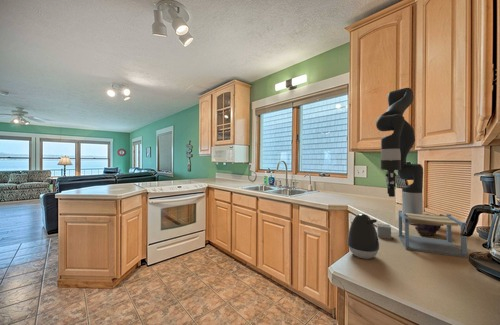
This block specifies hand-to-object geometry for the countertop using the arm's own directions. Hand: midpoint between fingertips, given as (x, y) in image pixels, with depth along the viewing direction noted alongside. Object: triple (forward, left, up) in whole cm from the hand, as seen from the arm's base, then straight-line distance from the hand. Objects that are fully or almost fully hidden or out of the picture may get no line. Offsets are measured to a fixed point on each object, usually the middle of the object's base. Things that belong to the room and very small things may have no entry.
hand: (391, 195), depth 96 cm
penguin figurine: (+26, -12, -19) cm, 35 cm away
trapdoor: (+4, +12, -12) cm, 17 cm away
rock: (-15, +16, -20) cm, 29 cm away
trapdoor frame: (+4, +12, -19) cm, 23 cm away
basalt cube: (-2, -3, -19) cm, 20 cm away
